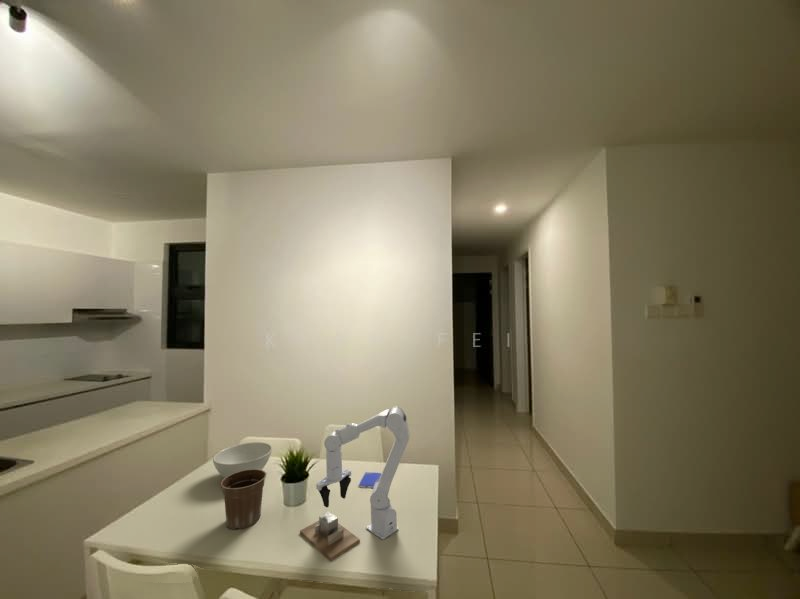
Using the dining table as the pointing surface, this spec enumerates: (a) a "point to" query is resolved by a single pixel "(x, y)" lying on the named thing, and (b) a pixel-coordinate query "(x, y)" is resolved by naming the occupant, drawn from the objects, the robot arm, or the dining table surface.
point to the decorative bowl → (242, 458)
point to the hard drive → (369, 480)
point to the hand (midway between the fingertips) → (334, 501)
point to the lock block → (327, 524)
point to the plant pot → (243, 497)
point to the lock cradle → (330, 540)
